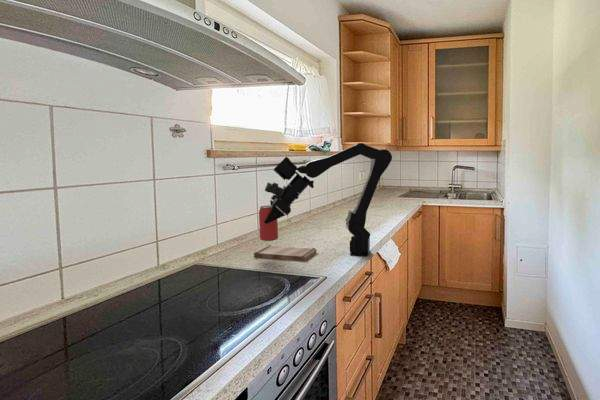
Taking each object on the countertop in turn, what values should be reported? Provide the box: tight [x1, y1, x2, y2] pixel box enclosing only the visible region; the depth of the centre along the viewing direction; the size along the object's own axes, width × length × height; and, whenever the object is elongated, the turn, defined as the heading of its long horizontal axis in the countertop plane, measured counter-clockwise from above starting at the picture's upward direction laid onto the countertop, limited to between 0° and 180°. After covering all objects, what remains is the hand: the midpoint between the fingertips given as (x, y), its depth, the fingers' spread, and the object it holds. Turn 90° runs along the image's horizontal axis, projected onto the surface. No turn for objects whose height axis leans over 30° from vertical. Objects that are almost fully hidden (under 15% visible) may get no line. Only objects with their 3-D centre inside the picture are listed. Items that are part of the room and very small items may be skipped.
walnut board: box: [253, 244, 318, 262], centre depth 155 cm, size 20×12×2 cm, turn 69°
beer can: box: [258, 204, 279, 242], centre depth 151 cm, size 7×7×12 cm
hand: (264, 221), depth 151 cm, fingers closed on beer can, 7 cm apart
